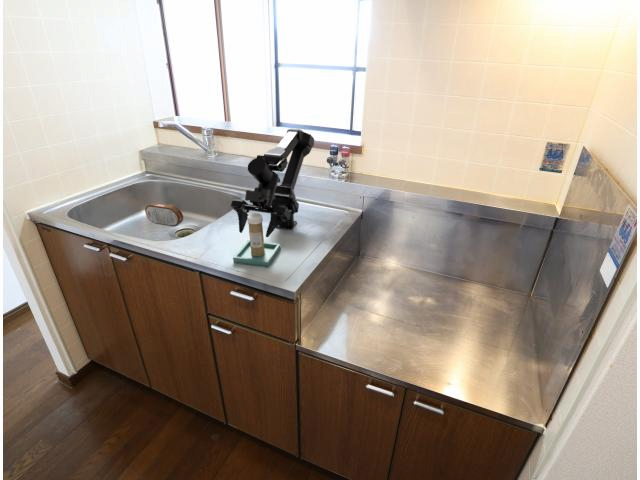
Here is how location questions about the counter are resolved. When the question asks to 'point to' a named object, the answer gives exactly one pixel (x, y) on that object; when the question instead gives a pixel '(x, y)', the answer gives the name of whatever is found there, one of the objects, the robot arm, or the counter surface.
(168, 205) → the tin
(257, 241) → the sprinkles bottle
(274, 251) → the teal tray
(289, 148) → the robot arm
